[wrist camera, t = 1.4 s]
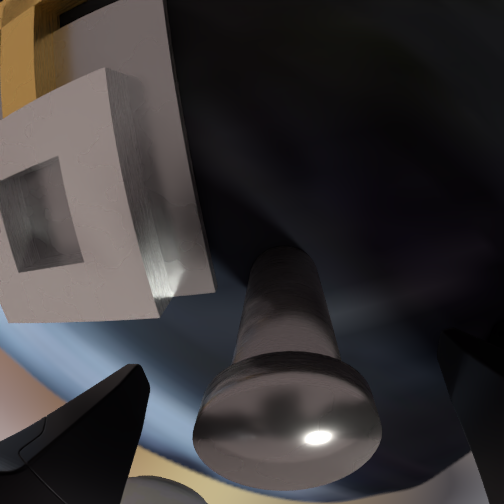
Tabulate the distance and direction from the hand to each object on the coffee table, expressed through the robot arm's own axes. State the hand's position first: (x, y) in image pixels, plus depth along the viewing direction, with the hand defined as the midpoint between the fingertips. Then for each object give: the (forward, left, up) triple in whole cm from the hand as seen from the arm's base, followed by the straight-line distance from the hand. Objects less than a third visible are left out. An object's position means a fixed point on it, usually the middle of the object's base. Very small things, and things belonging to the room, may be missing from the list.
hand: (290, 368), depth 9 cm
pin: (0, 0, -6) cm, 6 cm away
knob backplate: (+10, -9, -6) cm, 15 cm away
